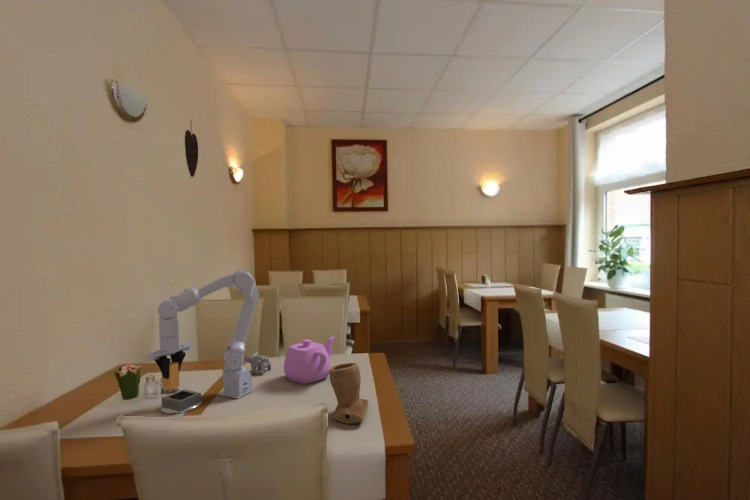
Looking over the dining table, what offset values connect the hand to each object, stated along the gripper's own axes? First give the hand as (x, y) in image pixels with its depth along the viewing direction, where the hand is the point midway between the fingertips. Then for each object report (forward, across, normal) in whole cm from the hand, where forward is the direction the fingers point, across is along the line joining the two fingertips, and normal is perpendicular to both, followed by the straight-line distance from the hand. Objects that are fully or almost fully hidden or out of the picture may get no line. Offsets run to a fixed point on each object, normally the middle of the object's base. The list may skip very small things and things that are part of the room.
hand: (171, 376), depth 124 cm
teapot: (+10, -39, +27) cm, 49 cm away
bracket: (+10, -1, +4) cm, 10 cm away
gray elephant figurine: (+10, -36, +2) cm, 37 cm away
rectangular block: (+4, 0, 0) cm, 4 cm away
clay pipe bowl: (+10, -17, +58) cm, 62 cm away
